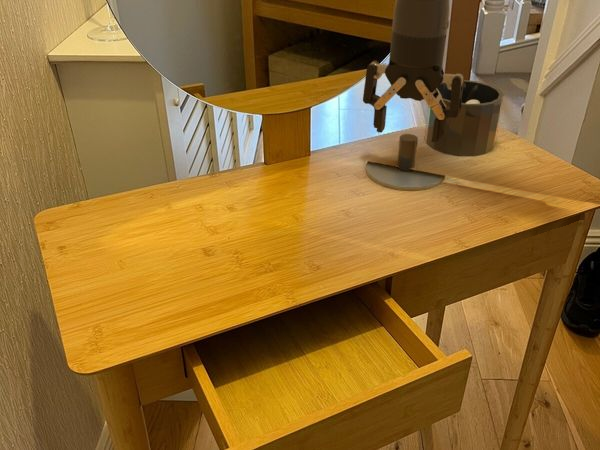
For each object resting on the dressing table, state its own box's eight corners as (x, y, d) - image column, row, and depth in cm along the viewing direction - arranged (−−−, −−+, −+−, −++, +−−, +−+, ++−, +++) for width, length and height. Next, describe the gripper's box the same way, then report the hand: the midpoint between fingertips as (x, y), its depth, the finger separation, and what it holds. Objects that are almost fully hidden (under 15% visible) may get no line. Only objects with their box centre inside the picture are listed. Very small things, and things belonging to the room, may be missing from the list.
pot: (496, 143, 109) (507, 85, 103) (486, 171, 100) (497, 109, 94) (432, 132, 112) (439, 76, 107) (416, 158, 104) (423, 98, 98)
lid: (451, 165, 102) (457, 128, 98) (434, 200, 92) (440, 161, 89) (378, 152, 106) (381, 116, 102) (354, 184, 96) (357, 146, 93)
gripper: (362, 28, 86) (355, 137, 95) (466, 41, 81) (449, 153, 90) (378, 15, 92) (370, 119, 100) (476, 26, 87) (459, 134, 96)
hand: (407, 135), depth 95 cm, fingers open, 8 cm apart
